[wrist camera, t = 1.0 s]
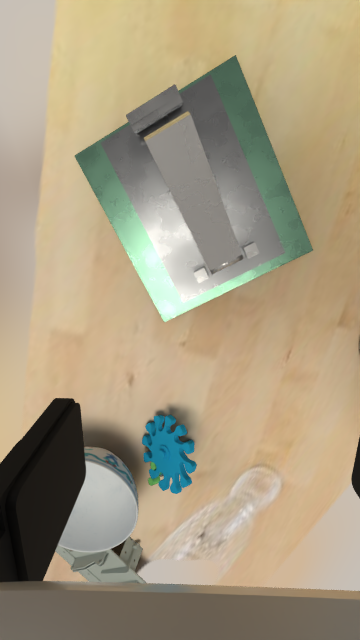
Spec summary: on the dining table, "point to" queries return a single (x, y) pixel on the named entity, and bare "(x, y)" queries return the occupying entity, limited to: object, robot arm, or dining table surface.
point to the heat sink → (231, 179)
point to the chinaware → (102, 505)
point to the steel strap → (195, 190)
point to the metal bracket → (106, 563)
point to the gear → (168, 454)
